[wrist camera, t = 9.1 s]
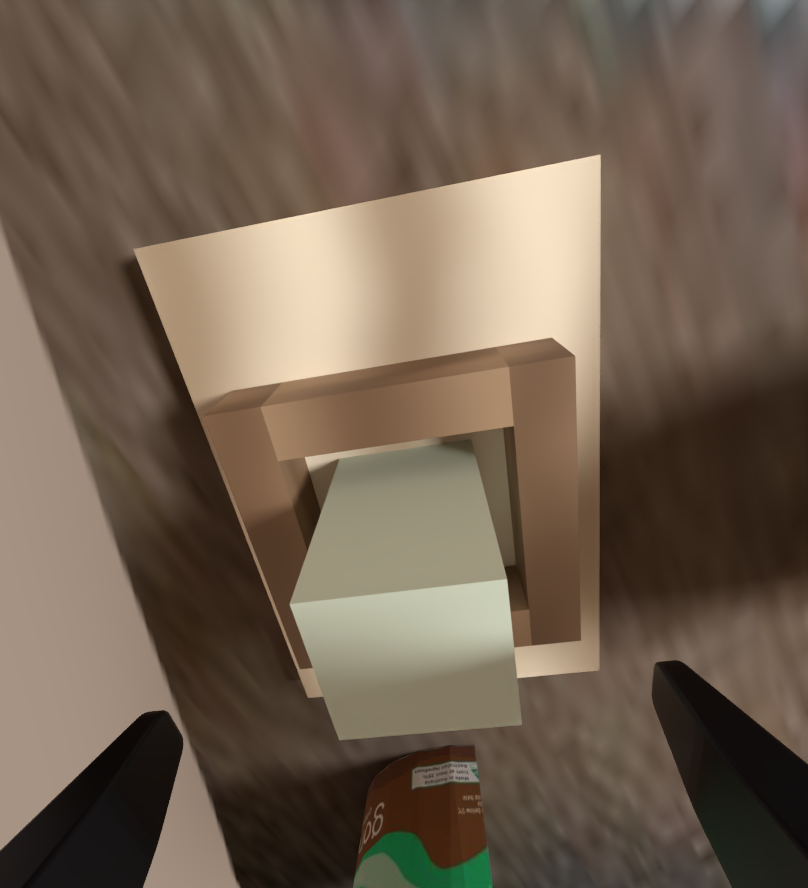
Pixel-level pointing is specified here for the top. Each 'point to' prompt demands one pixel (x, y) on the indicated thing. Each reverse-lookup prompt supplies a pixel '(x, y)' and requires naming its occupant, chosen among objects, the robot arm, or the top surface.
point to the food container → (425, 824)
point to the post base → (410, 375)
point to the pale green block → (408, 598)
